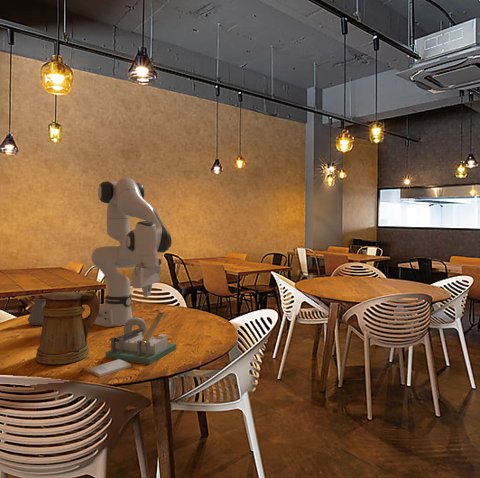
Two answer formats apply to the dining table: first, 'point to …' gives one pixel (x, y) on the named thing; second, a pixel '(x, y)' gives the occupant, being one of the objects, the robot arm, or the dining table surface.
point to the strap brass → (152, 328)
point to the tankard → (66, 326)
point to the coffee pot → (37, 312)
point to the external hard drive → (109, 367)
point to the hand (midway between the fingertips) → (147, 296)
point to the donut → (135, 321)
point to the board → (140, 349)
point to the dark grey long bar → (129, 334)
